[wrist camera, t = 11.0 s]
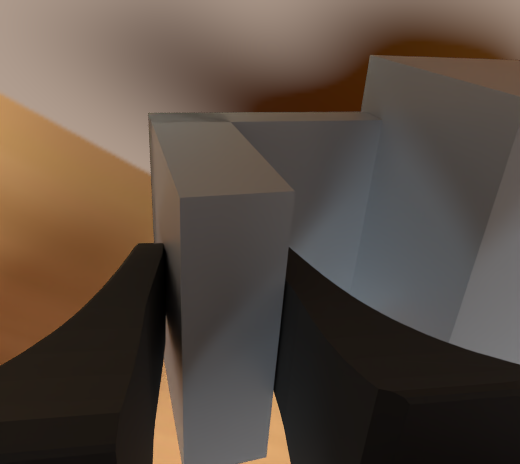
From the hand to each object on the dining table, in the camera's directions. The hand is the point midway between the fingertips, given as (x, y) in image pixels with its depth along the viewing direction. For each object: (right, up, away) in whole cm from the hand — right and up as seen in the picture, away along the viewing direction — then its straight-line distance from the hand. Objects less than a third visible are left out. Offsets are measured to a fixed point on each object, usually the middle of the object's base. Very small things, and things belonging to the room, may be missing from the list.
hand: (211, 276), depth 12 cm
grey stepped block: (+6, +2, +5) cm, 8 cm away
